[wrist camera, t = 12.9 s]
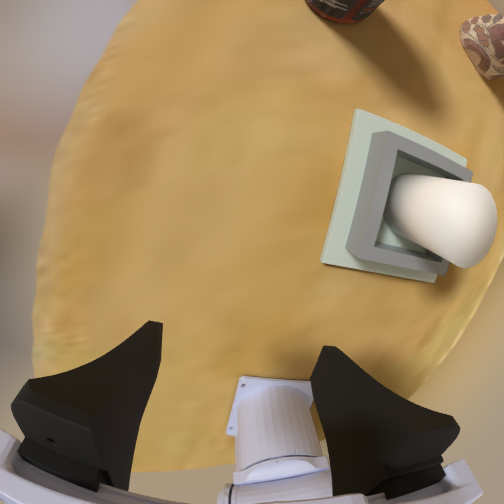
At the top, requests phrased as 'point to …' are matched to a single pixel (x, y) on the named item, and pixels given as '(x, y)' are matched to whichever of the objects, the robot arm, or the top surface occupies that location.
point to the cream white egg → (443, 216)
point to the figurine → (485, 44)
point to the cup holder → (384, 199)
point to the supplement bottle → (344, 9)
